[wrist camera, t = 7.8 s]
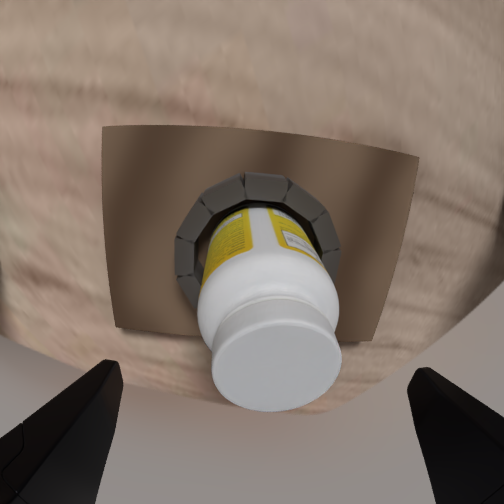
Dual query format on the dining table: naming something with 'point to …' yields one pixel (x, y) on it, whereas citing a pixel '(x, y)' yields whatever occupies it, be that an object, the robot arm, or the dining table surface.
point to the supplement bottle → (268, 311)
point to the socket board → (240, 193)
